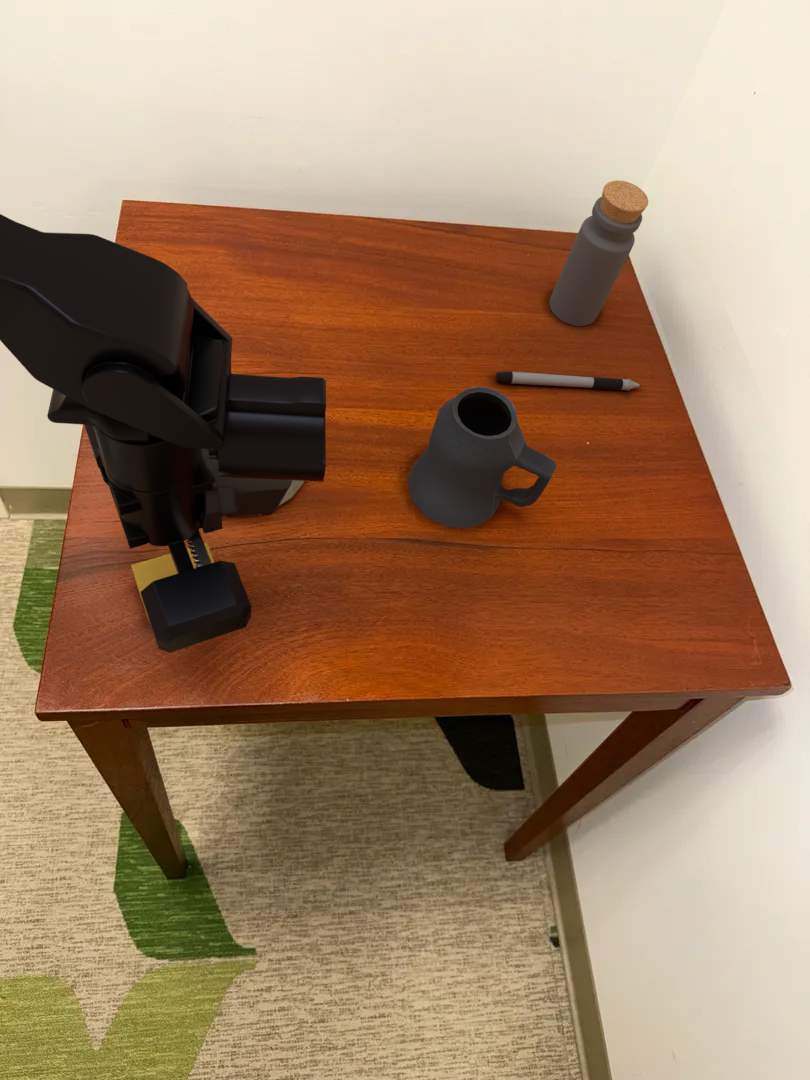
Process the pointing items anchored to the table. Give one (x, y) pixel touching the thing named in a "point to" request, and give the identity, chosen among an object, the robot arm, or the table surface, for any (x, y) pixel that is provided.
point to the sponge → (158, 569)
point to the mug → (475, 461)
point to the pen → (565, 380)
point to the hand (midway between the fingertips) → (175, 572)
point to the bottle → (598, 254)
